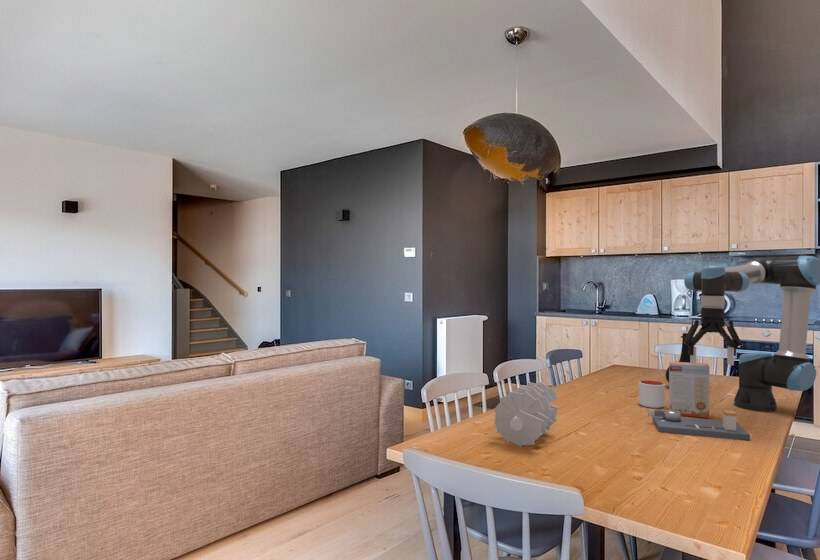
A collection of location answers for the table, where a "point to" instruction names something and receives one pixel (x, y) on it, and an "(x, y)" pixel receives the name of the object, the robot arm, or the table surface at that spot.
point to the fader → (729, 420)
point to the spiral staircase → (526, 413)
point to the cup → (652, 394)
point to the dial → (666, 414)
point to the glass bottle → (684, 355)
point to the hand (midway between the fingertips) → (711, 364)
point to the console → (700, 428)
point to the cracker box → (689, 389)
